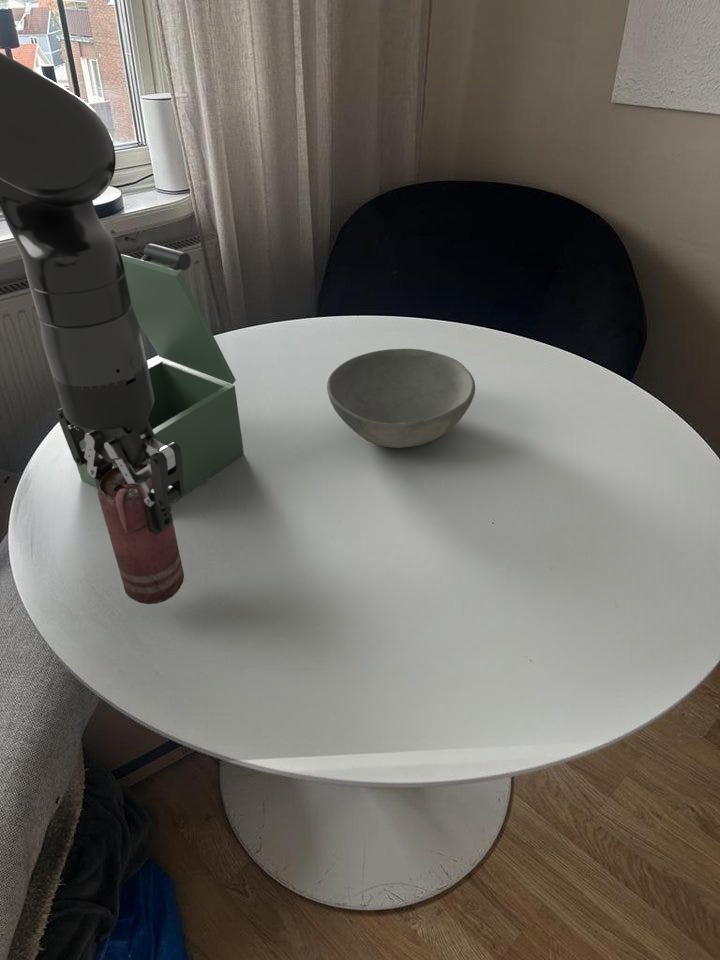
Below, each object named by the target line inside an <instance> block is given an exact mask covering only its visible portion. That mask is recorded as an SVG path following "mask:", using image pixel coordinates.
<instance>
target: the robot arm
mask: <svg viewBox="0 0 720 960" xmlns="http://www.w3.org/2000/svg"><path fill="white" fill-rule="evenodd" d="M116 161H117V158H116V150H115V145H114V141H113V138H112V136H111V134H110V132H109V130H108V127H107V126H106V124H105V123H104V121H103V120H102V118H101V117H100V116H99V114H98V113H97V112H96V111H95V109H93V108H92V107H91V106H90V105H89V104H88V103H87V102H85V101H84V100H83V99H81V98H80V97H78V96H77V95H75V94H74V93H72V92H71V91H69V90H67V89H66V88H64V87H62V86H61V85H59V84H57V82H54V81H53V80H52V79H49V78H47V77H46V76H44V75H42V74H40V73H39V72H37V71H35V70H33V69H32V68H30V67H28V66H27V65H25V64H23V63H21V62H19V61H18V60H15V59H14V58H11V57H9V56H8V55H6V54H4V53H3V52H0V211H1V213H2V216H3V218H4V220H5V222H6V225H7V228H8V229H9V231H10V234H12V237H13V239H14V242H15V243H16V246H17V248H18V250H19V253H20V256H21V258H22V262H23V266H24V270H25V276H26V279H27V283H28V287H29V290H30V293H31V297H32V300H33V304H34V307H35V310H36V314H37V316H38V321H39V326H40V335H41V340H42V345H43V349H44V353H45V356H46V359H47V363H48V366H49V370H50V373H51V376H52V379H53V383H54V386H55V390H56V393H57V396H58V399H59V402H60V407H59V408H58V409H56V410H55V414H56V415H55V416H56V417H57V420H58V423H59V425H60V428H61V431H62V433H63V436H64V439H65V441H66V443H67V446H68V449H69V451H70V455H71V457H72V459H73V461H74V462H75V464H78V465H79V466H81V465H83V464H85V465H86V466H87V471H88V473H89V475H90V476H92V477H93V478H94V479H95V482H96V486H97V488H96V489H97V490H98V489H99V484H100V481H101V479H102V477H103V476H104V475H105V474H106V473H107V472H109V471H110V470H112V469H114V468H115V467H113V466H114V465H117V466H118V467H119V469H120V471H121V473H122V474H123V476H124V478H125V480H126V482H127V483H128V484H129V485H133V486H135V487H136V489H137V491H138V492H139V494H140V496H141V498H142V500H143V501H144V503H143V506H144V510H145V514H146V518H147V522H148V526H149V530H150V532H152V533H154V534H156V535H158V534H160V533H161V532H163V531H164V530H165V529H167V528H168V527H169V526H170V525H171V524H172V523H173V524H174V518H173V513H172V509H171V505H170V503H172V502H173V501H174V500H176V499H177V498H179V497H181V496H182V495H184V494H185V490H184V478H183V465H182V453H181V448H180V446H179V445H178V444H177V443H175V442H172V443H170V444H169V445H167V446H165V445H164V444H162V443H160V442H159V441H157V440H156V438H155V434H154V432H153V430H152V429H151V427H150V424H149V422H148V417H149V414H150V412H151V409H152V407H153V405H154V393H153V389H152V384H151V379H150V374H149V369H148V365H149V364H148V360H147V356H146V355H147V354H146V351H145V350H146V349H145V345H144V341H143V335H142V331H141V326H140V324H139V323H138V321H137V318H136V315H135V313H134V310H133V306H132V303H131V298H130V293H129V288H128V283H127V278H126V273H125V269H124V264H123V260H122V256H121V254H122V253H121V249H120V247H119V244H118V243H117V241H116V239H115V237H114V236H113V235H112V234H111V233H110V232H109V230H108V229H107V228H106V227H105V226H104V224H103V223H102V221H101V220H100V218H99V216H98V214H97V212H96V208H95V205H94V202H93V201H95V200H97V199H98V198H99V197H100V196H101V195H102V194H104V192H105V191H106V190H107V189H108V187H109V186H110V184H111V182H112V181H113V177H114V175H115V170H116ZM83 439H84V441H85V442H86V447H85V449H83V450H81V447H80V444H79V443H80V441H81V440H83ZM147 458H148V460H149V463H148V466H147V467H145V468H144V469H142V470H140V471H139V472H137V473H135V472H134V470H133V468H135V467H137V466H139V465H140V464H142V463H143V462H145V461H146V459H147ZM150 477H152V480H153V489H152V490H150V489H149V487H148V486H147V484H146V481H147V479H149V478H150ZM170 485H171V486H170ZM184 496H185V495H184Z"/></svg>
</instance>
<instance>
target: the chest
mask: <svg viewBox="0 0 720 960" xmlns="http://www.w3.org/2000/svg"><path fill="white" fill-rule="evenodd" d="M148 369H149V374H150V379H151V384H152V389H153V393H154V405H153V407H152V409H151V412H150V414H149V417H148V422H149V424H150V427H151V429H152V430H153V432H154V434H155V438H156V440H157V441H159V442H160V443H162V444H164V445H165V446H167V445H169V444H170V443H172V442H175V443H177V444H178V445H179V446H180V448H181V453H182V465H183V478H184V490H185V494H184V495H182V496H181V497H179V498H177V499H176V500H174V501H173V502H172V503H170V506H172V505H174V504H175V503H177V501H179V500H180V499H182V498H183V497H185V496H186V495H187V494H189V493H190V492H191V491H193V490H194V489H196V488H197V487H198V486H200V485H201V484H203V483H205V482H206V481H207V480H209V479H210V478H212V477H213V476H215V475H216V474H217V473H218V472H220V471H221V470H222V469H224V468H225V467H227V466H229V465H230V464H231V463H233V462H234V461H236V460H237V459H238V458H240V457H241V456H243V455H244V451H245V450H244V445H243V437H242V436H243V435H242V428H241V421H240V415H239V406H238V399H237V393H236V385H234V384H231V383H228V382H225V381H223V380H220V379H217V378H215V377H212V376H209V375H207V374H204V373H201V372H199V371H196V370H193V369H191V368H188V367H185V366H183V365H180V364H177V363H175V362H172V361H169V360H167V359H164V358H162V357H160V358H159V359H156V360H154V361H153V362H151V363H149V364H148ZM79 444H80V447H81V450H83V449H85V447H86V442H85V441H84V439H83V440H81V441H80V443H79ZM148 463H149V460H148V458H147V459H146V461H145V462H143V463H142V464H147V465H148ZM75 464H76V463H75ZM76 467H77V471H78V475H79V477H80V481H82V482H84V483H86V484H87V485H89V486H91V487H93V488H95V489H97V486H96V482H95V479H94V478H93V477H92V476H90V475H89V473H88V471H87V466H86V465H85V464H83V465H81V466H79V465H78V464H76ZM113 467H115V468H116V467H118V466H117V465H114V466H113ZM170 486H171V485H170Z"/></svg>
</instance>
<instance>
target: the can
mask: <svg viewBox="0 0 720 960" xmlns="http://www.w3.org/2000/svg"><path fill="white" fill-rule="evenodd" d="M147 466H148V465H147V464H140V465H139V466H137V467H135V468H133V470H134V472H135V473H137V472H139V471H140V470H142V469H144V468H145V467H147ZM146 484H147V486H148V487H149V489H150V490H152V489H153V480H152V477H150V478H149V479H147V481H146ZM97 498H98V501H99V504H100V508H101V511H102V515H103V519H104V523H105V526H106V530H107V533H108V537H109V539H110V542H111V547H112V550H113V553H114V557H115V560H116V564H117V567H118V568H117V569H118V571H119V575H120V579H121V581H122V585H123V589H124V592H125V594H126V595H127V596H128V597H129V598H130V599H131V600H133V601H135V602H137V603H139V604H143V605H156V604H160V603H163V602H166V601H168V600H169V599H172V598H173V597H174V596H175V595H176V594H177V593H178V592H179V590H180V589H181V587H182V586H183V584H184V580H185V573H184V567H183V563H182V558H181V553H180V548H179V544H178V539H177V534H176V529H175V525H174V522H173V523H172V524H171V525H170V526H169V527H168V528H167V529H165V530H164V531H163V532H161V533H160V534H158V535H156V534H154V533H152V532H150V530H149V526H148V522H147V518H146V514H145V510H144V506H143V503H144V501H143V500H142V498H141V496H140V494H139V492H138V491H137V489H136V487H135V486H133V485H129V484H128V483H127V482H126V480H125V478H124V476H123V474H122V473H121V471H120V469H119V467H116V468H114V469H112V470H110V471H109V472H107V473H106V474H105V475H104V476H103V477H102V479H101V481H100V484H99V489H97Z"/></svg>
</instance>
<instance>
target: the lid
mask: <svg viewBox="0 0 720 960" xmlns="http://www.w3.org/2000/svg"><path fill="white" fill-rule="evenodd" d="M143 254H144V255H143V256H142V257H140V259H139V258H135V257H133V256H129V255H125V254H122V253H121V256H122V260H123V264H124V269H125V273H126V278H127V283H128V288H129V293H130V298H131V303H132V306H133V310H134V313H135V315H136V318H137V321H138V324H139V327H140V329H142V331H143V333H144V334H145V336H146V337H147V339H148V341H149V342H150V344H151V346H152V347H153V349H154V351H155V352H156V354H157V355H158V357H159V358H163V359H165V360H168V361H171V362H173V363H176V364H178V365H181V366H184V367H186V368H189V369H192V370H194V371H197V372H200V373H202V374H205V375H208V376H210V377H213V378H216V379H218V380H221V381H224V382H226V383H229V384H232V385H234V383H235V382H236V380H237V379H236V377H235V376H234V373H233V372H232V370H231V368H230V366H229V364H228V362H227V360H226V357H225V355H224V354H223V351H222V350H221V348H220V346H219V344H218V342H217V340H216V337H215V336H214V334H213V333H212V330H211V327H210V326H209V324H208V322H207V320H206V318H205V316H204V315H203V312H202V311H201V309H200V307H199V304H198V303H197V300H196V299H195V297H194V295H193V293H192V291H191V288H190V286H189V285H188V283H187V281H186V279H185V277H184V275H183V273H182V271H186V270H188V269H189V268H190V267H191V264H192V259H191V256H190V254H189V253H187V252H183V251H180V250H176V249H173V248H169V247H165V246H162V245H158V244H155V243H148V244H146V245H145V247H144V249H143ZM152 262H153V263H152ZM156 263H157V264H156ZM163 265H164V266H163ZM167 266H168V267H167Z"/></svg>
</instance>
